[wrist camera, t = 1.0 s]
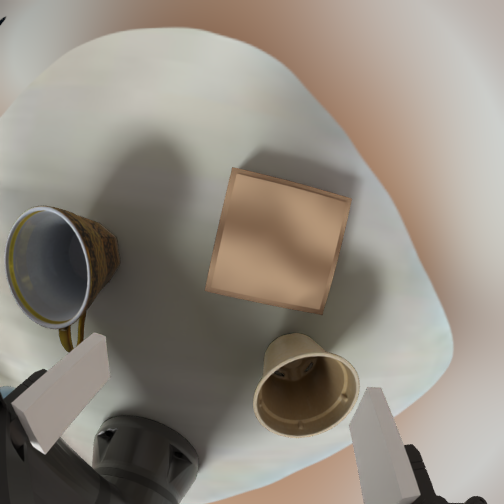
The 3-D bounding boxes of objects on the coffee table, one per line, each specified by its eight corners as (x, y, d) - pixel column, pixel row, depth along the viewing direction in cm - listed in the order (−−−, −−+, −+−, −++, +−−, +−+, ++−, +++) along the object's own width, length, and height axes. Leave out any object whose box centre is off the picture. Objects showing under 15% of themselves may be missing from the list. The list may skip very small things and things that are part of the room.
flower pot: (258, 311, 30) (265, 346, 21) (341, 322, 30) (374, 356, 22) (242, 386, 31) (244, 434, 22) (319, 392, 31) (340, 437, 23)
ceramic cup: (54, 216, 27) (-3, 219, 17) (128, 199, 28) (80, 193, 18) (75, 325, 29) (29, 359, 19) (149, 320, 29) (114, 363, 19)
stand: (312, 303, 30) (322, 315, 26) (208, 281, 29) (204, 291, 25) (338, 200, 29) (352, 198, 25) (233, 173, 28) (232, 166, 24)
